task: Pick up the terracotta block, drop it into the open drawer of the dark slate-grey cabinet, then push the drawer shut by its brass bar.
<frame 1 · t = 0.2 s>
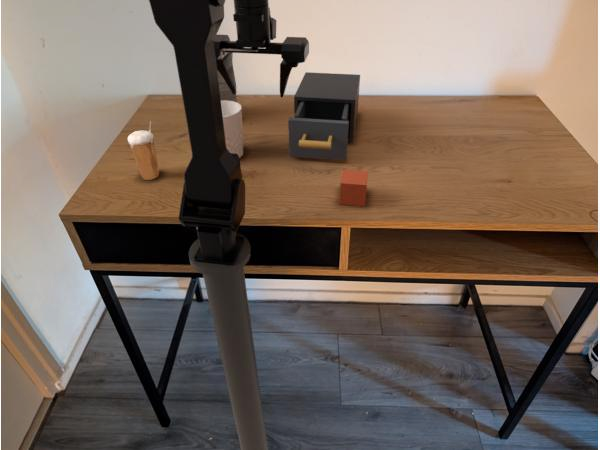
hand: (258, 95, 82), 13 cm above the table, tool pointing down, fingers open, 9 cm apart
drawer: (321, 129, 87), point 5 cm above the table, slide at 8.0 cm
milkshake: (152, 175, 84), on the table
white cup: (227, 154, 90), on the table
block: (353, 198, 77), on the table
cabinet: (327, 126, 99), on the table
coffee box: (222, 116, 105), on the table
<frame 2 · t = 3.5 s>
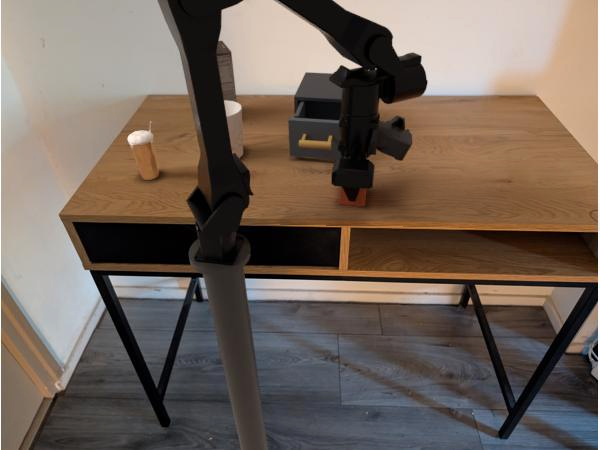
hand: (353, 193, 76), 1 cm above the table, tool pointing down, fingers closed on block, 4 cm apart
block: (353, 198, 77), on the table, touching gripper
everything else where it was.
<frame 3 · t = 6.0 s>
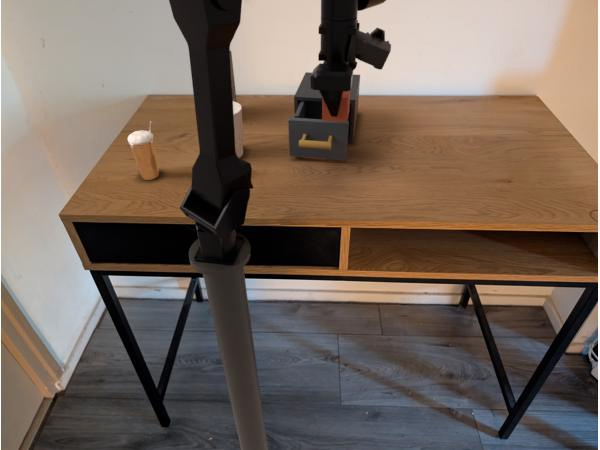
hand: (335, 110, 78), 12 cm above the table, tool pointing down, fingers closed on block, 4 cm apart
block: (335, 116, 78), point 11 cm above the table, touching gripper
everything else where it was.
when the fingers open (8 cm above the table, at t = 8.3 s): block drops 5 cm, resting on drawer.
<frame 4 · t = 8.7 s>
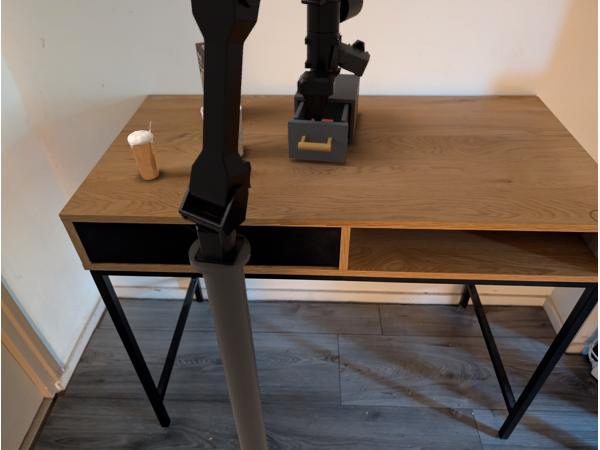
hand: (321, 114, 85), 8 cm above the table, tool pointing down, fingers open, 7 cm apart
drawer: (320, 131, 87), point 5 cm above the table, slide at 8.8 cm, touching block, gripper
block: (320, 143, 88), point 2 cm above the table, touching drawer
everything else where it was.
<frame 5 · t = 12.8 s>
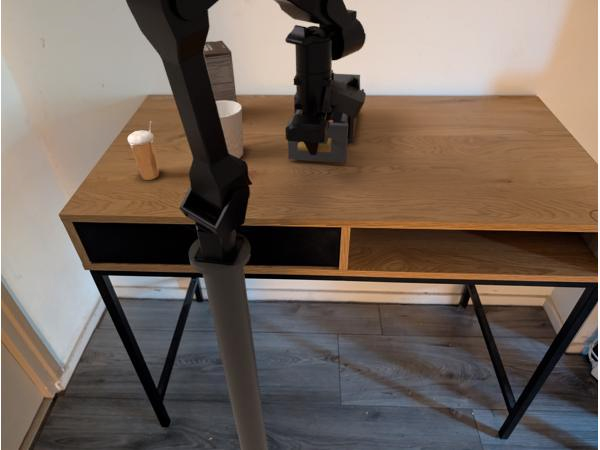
hand: (313, 154, 79), 5 cm above the table, tool pointing down, fingers closed
nothing on the table moved.
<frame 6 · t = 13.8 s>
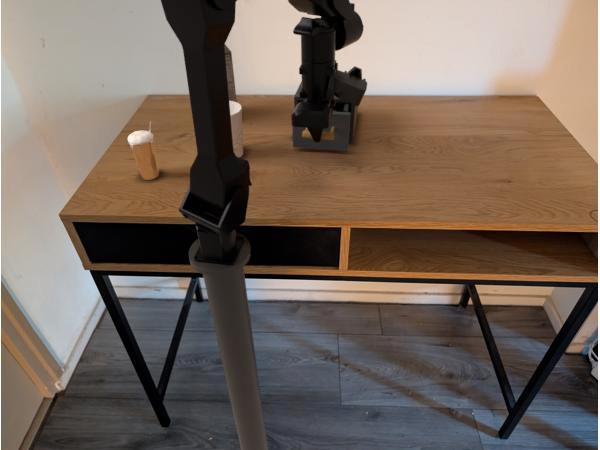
hand: (317, 141, 83), 5 cm above the table, tool pointing down, fingers closed
drawer: (323, 121, 90), point 5 cm above the table, slide at 4.1 cm, touching block, gripper
block: (323, 133, 92), point 2 cm above the table, touching drawer
everything else where it was.
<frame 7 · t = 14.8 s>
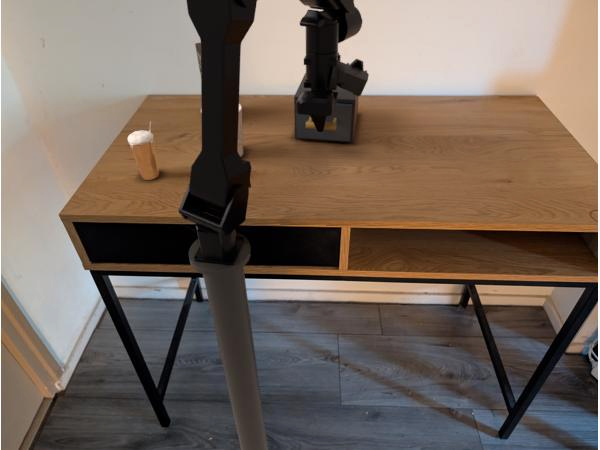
hand: (320, 131, 86), 5 cm above the table, tool pointing down, fingers closed
drawer: (326, 113, 93), point 5 cm above the table, slide at 0.0 cm, touching block, cabinet, gripper
block: (326, 124, 95), point 2 cm above the table, touching drawer
everything else where it was.
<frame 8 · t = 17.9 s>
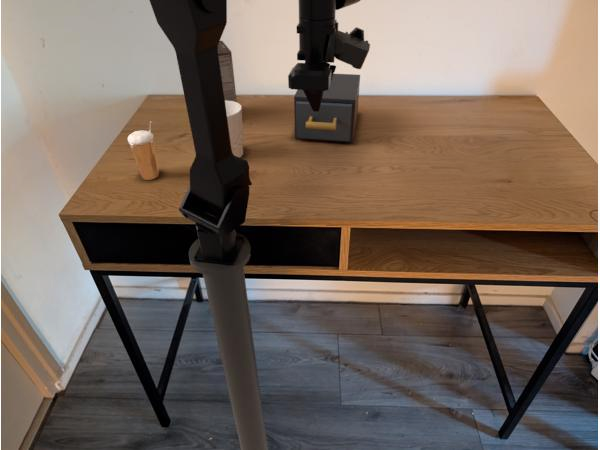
hand: (316, 110, 77), 12 cm above the table, tool pointing down, fingers closed
drawer: (326, 113, 93), point 5 cm above the table, slide at 0.0 cm, touching block, cabinet
everything else where it was.
at the end: block inside the target area in the cabinet (3.6 cm from its centre), point 2.0 cm above the cabinet's base; drawer slide at 0.0 cm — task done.
